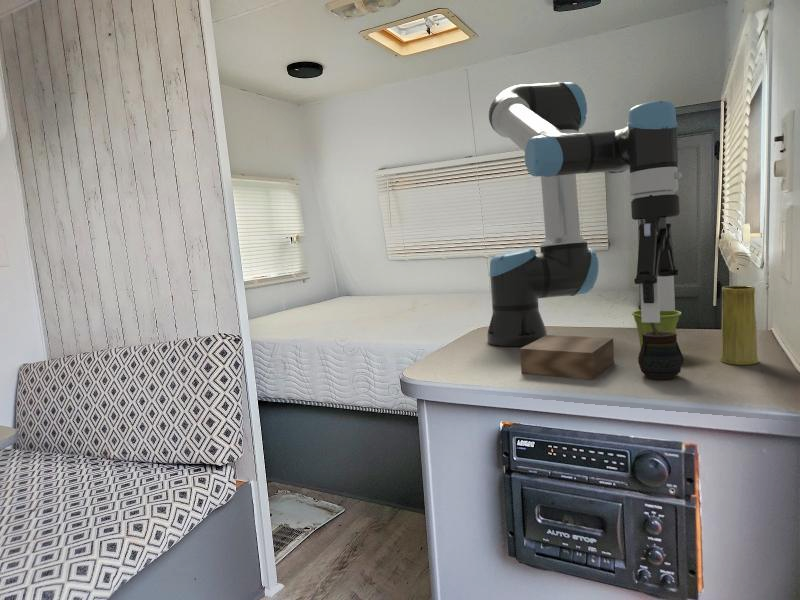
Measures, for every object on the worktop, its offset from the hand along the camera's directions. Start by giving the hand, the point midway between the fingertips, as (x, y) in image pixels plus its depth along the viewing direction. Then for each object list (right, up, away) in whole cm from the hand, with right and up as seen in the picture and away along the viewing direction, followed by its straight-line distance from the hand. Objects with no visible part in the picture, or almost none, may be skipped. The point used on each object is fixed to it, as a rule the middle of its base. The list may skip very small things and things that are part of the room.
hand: (659, 316), depth 93 cm
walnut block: (-12, -11, +13) cm, 21 cm away
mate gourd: (+1, -11, +2) cm, 11 cm away
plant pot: (+9, -8, +19) cm, 23 cm away
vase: (+19, -9, +7) cm, 22 cm away
